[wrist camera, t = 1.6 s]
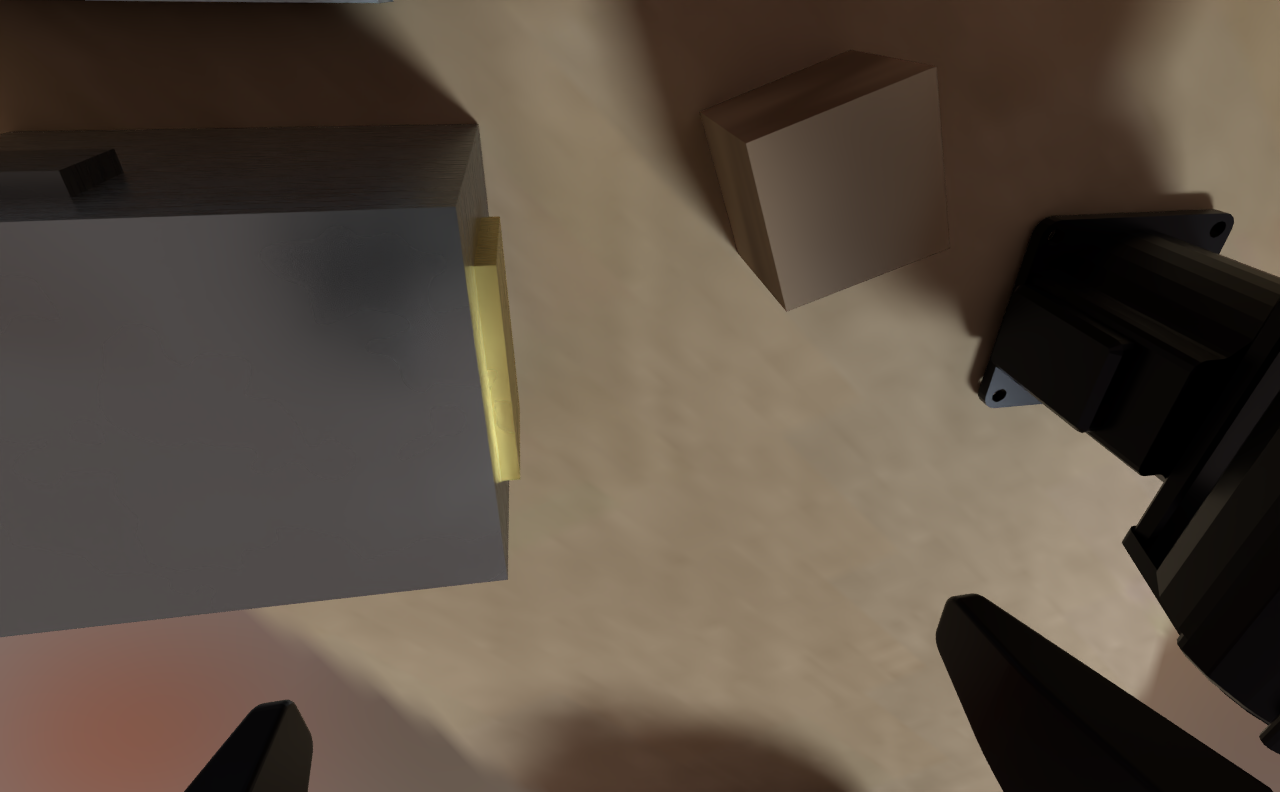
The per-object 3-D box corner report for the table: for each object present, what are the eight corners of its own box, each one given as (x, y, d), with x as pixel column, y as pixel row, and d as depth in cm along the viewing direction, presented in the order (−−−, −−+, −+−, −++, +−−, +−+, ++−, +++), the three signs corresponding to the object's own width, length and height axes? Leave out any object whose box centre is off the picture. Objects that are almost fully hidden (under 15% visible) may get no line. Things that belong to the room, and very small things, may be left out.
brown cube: (849, 49, 16) (936, 66, 13) (870, 200, 18) (949, 248, 15) (698, 111, 16) (746, 143, 13) (737, 252, 19) (786, 311, 15)
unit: (493, 106, 15) (480, 178, 10) (523, 403, 20) (526, 577, 14) (-1, 112, 14) (-373, 202, 8) (152, 431, 18) (-18, 639, 13)
